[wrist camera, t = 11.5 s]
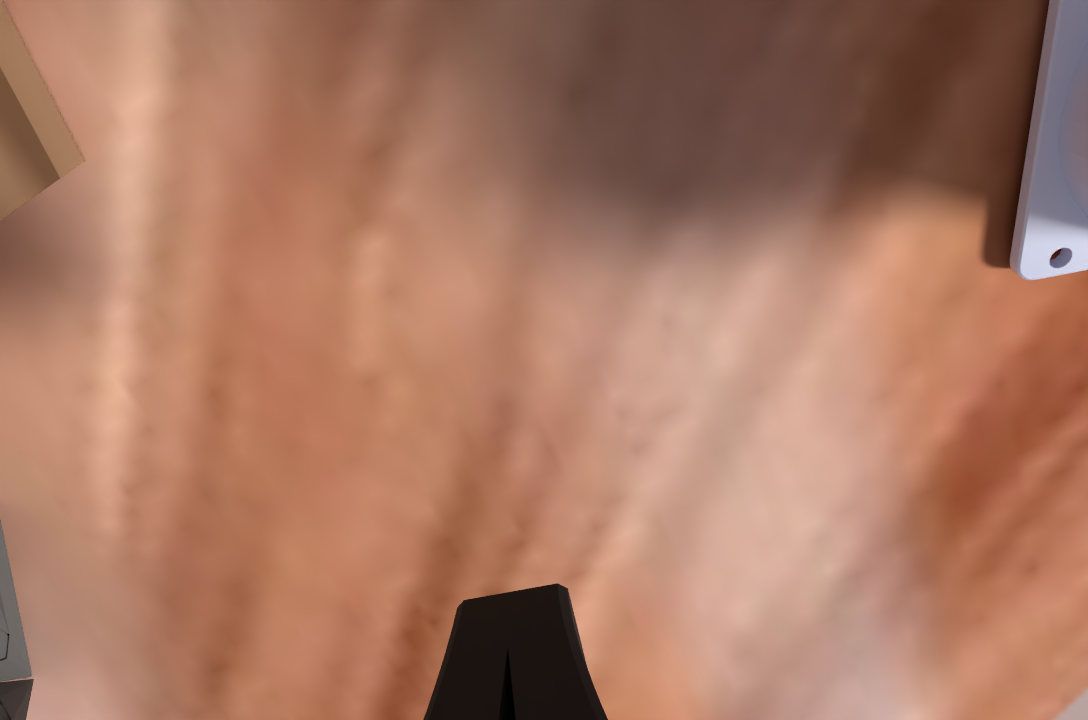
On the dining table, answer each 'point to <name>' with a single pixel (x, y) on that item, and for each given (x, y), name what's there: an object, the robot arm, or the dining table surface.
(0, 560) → the electrical switch
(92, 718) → the dining table surface
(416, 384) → the dining table surface
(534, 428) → the dining table surface
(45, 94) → the wooden board with knobs
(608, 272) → the dining table surface
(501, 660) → the robot arm
